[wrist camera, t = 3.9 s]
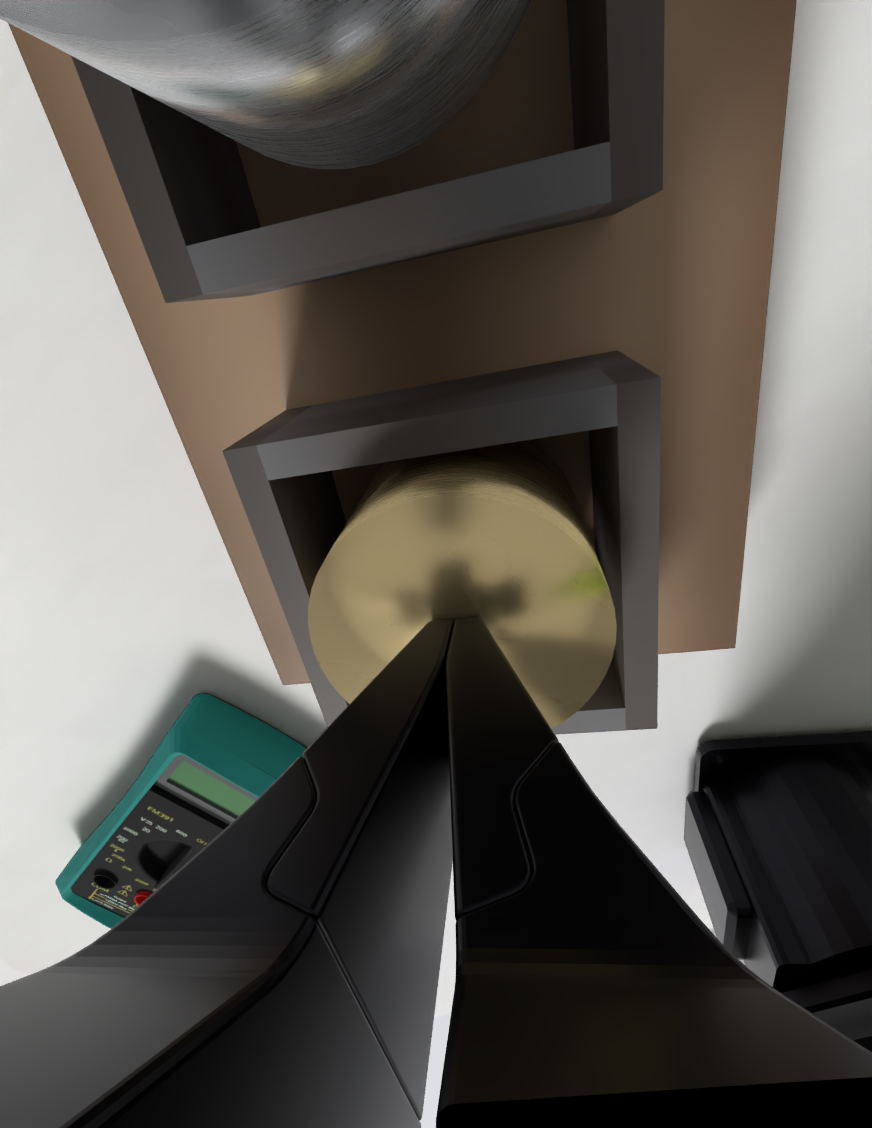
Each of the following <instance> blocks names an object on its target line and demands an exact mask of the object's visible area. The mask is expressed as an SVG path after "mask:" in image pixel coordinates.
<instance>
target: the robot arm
mask: <svg viewBox="0 0 872 1128" xmlns="http://www.w3.org/2000/svg"><path fill="white" fill-rule="evenodd" d="M712 755H713V756H712ZM303 758H304V759H303ZM684 840H685V843H686V846H687V849H688V852H689V855H690V858H691V861H692V864H693V867H694V870H695V873H696V876H697V879H698V882H699V885H700V888H701V891H702V894H703V897H704V900H705V903H706V906H707V909H708V912H709V915H710V918H711V921H712V924H713V927H714V930H715V933H716V936H717V938H716V937H715V936H714V934H713V933H712V932H711V931H710V930H709V929H708V928H707V927H706V925H705V924H704V923H703V922H702V921H701V920H700V919H699V918H698V916H697V915H696V914H695V913H694V912H693V911H692V909H691V908H690V907H689V906H688V905H687V903H686V902H685V901H684V900H683V899H682V898H681V896H680V895H679V894H678V893H677V892H676V891H675V889H674V888H673V887H672V886H671V885H670V884H669V882H668V881H667V880H666V879H665V878H664V877H663V875H662V874H661V873H660V872H659V871H658V869H657V868H656V867H655V866H654V865H653V864H652V862H651V861H650V860H649V859H648V858H647V857H646V855H645V854H644V853H643V852H642V851H641V850H640V848H639V847H638V846H637V845H636V844H635V843H634V841H633V840H632V839H631V838H630V837H629V835H628V834H627V833H626V832H625V831H624V830H623V828H622V827H621V826H620V825H619V824H618V822H617V821H616V820H615V819H614V817H613V816H612V815H611V814H610V812H609V811H608V810H607V809H606V807H605V806H604V805H603V804H602V802H601V801H600V800H599V799H598V797H597V796H596V795H595V794H594V792H593V791H592V789H591V788H590V787H589V785H588V784H587V782H586V781H585V779H584V778H583V776H582V775H581V774H580V772H579V771H578V769H577V768H576V766H575V765H574V763H573V762H572V760H571V759H570V757H569V756H568V754H567V752H566V751H565V749H564V748H563V746H562V745H561V743H559V742H558V739H557V737H556V736H555V734H554V732H553V731H552V729H551V728H550V726H549V725H548V723H547V721H546V720H545V718H544V717H543V715H542V713H541V712H540V710H539V709H538V707H537V706H536V704H535V702H534V701H533V699H532V698H531V696H530V694H529V693H528V691H527V690H526V688H525V687H524V685H523V683H522V682H521V680H520V679H519V677H518V675H517V674H516V672H515V671H514V669H513V668H512V666H511V664H510V663H509V661H508V660H507V658H506V657H505V655H504V653H503V652H502V650H501V649H500V647H499V645H498V644H497V642H496V641H495V639H494V638H493V636H492V634H491V633H490V631H489V630H488V628H487V626H486V625H485V623H484V622H483V620H482V619H481V618H480V617H479V616H472V617H463V618H457V619H456V620H455V622H454V620H452V619H443V620H433V621H429V622H428V623H427V624H426V625H425V626H424V627H423V628H422V629H421V630H420V631H419V632H418V633H417V634H416V635H415V636H414V637H413V638H412V640H411V641H410V642H409V643H408V644H407V645H406V646H405V647H404V648H403V649H402V650H401V651H400V652H399V653H398V654H397V655H396V656H395V657H394V658H393V659H392V660H391V661H390V662H389V664H388V665H387V666H386V667H385V668H384V669H383V670H382V671H381V672H380V673H379V674H378V675H377V676H376V677H375V678H374V679H373V680H372V681H371V682H370V683H369V684H368V685H367V686H366V688H365V689H364V690H363V691H362V692H361V693H360V694H359V695H358V696H357V697H356V698H355V699H354V700H353V701H352V702H351V703H350V704H349V705H348V706H347V707H346V708H345V709H344V710H343V711H342V713H341V714H340V715H339V716H338V717H337V718H336V719H335V720H334V721H333V722H332V723H331V724H330V725H329V726H328V727H327V728H326V729H325V730H324V731H323V732H322V733H321V734H320V735H319V737H318V738H317V739H316V740H315V741H314V742H313V743H312V744H311V745H310V746H309V747H308V748H307V749H306V750H305V751H304V752H303V757H298V758H297V759H296V760H295V761H294V762H293V763H292V764H291V765H290V766H289V768H288V769H287V770H286V771H285V772H284V773H283V774H282V775H281V776H280V777H279V778H278V779H277V780H276V781H275V782H274V783H273V784H272V785H271V786H270V787H269V788H268V789H267V790H266V791H265V792H264V793H263V794H262V795H261V796H260V797H259V798H258V799H257V800H256V801H255V802H254V803H253V804H252V805H251V806H250V807H248V808H247V809H246V810H245V811H244V812H243V813H242V814H241V815H240V816H239V817H238V818H236V819H235V820H234V821H233V822H232V823H231V824H230V825H229V826H228V827H227V828H226V829H224V830H223V831H222V832H221V833H220V834H219V835H218V836H217V837H216V838H215V839H213V840H212V841H211V842H210V843H209V844H208V845H207V846H206V847H204V848H203V849H202V850H201V851H200V852H199V853H198V854H197V855H195V856H194V857H193V858H192V859H191V860H190V861H189V862H187V863H186V864H185V865H184V866H183V867H182V868H181V869H180V870H178V871H177V872H176V873H175V874H174V875H173V876H172V877H171V878H169V879H168V880H167V881H166V882H165V883H164V884H163V885H162V886H160V887H159V888H158V889H157V890H156V891H155V892H154V893H152V894H151V895H150V896H149V897H148V898H147V899H146V900H145V901H143V902H142V903H141V904H140V905H139V906H138V907H137V908H136V909H134V910H133V911H132V912H131V913H130V914H129V915H128V916H126V917H125V918H124V919H123V920H122V921H120V922H119V923H118V924H117V925H116V926H114V927H113V928H112V929H111V930H110V931H108V932H107V933H106V934H104V935H103V936H101V937H100V938H99V939H97V940H96V941H94V942H93V943H92V944H90V945H89V946H87V947H85V948H84V949H82V950H80V951H79V952H77V953H75V954H74V955H72V956H70V957H68V958H66V959H64V960H62V961H60V962H59V963H57V964H55V965H53V966H51V967H48V968H46V969H44V970H41V971H39V972H36V973H34V974H31V975H29V976H26V977H23V978H21V979H18V980H16V981H13V982H11V983H8V984H5V985H3V986H0V1128H421V1123H420V1121H419V1120H421V1118H422V1112H423V1104H424V1095H425V1087H426V1079H427V1071H428V1062H429V1054H430V1044H431V1037H432V1029H433V1020H434V1012H435V1003H436V995H437V987H438V978H439V970H440V962H441V953H442V945H443V936H444V928H445V920H446V911H447V903H448V895H449V886H450V878H451V869H452V861H453V876H454V901H455V918H456V921H457V922H456V983H455V991H454V998H453V1005H452V1012H451V1019H450V1026H449V1033H448V1041H447V1047H446V1054H445V1061H444V1069H443V1075H442V1083H441V1089H440V1096H439V1103H438V1111H437V1117H436V1128H872V732H858V733H840V734H821V735H803V736H785V737H766V738H748V739H729V740H712V741H707V742H704V743H702V744H701V745H700V746H699V747H698V748H697V751H696V766H695V783H694V791H691V792H690V793H689V794H688V796H687V797H686V808H685V828H684ZM739 960H744V962H745V965H746V966H745V965H744V964H743V963H742V962H741V961H739Z"/></svg>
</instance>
